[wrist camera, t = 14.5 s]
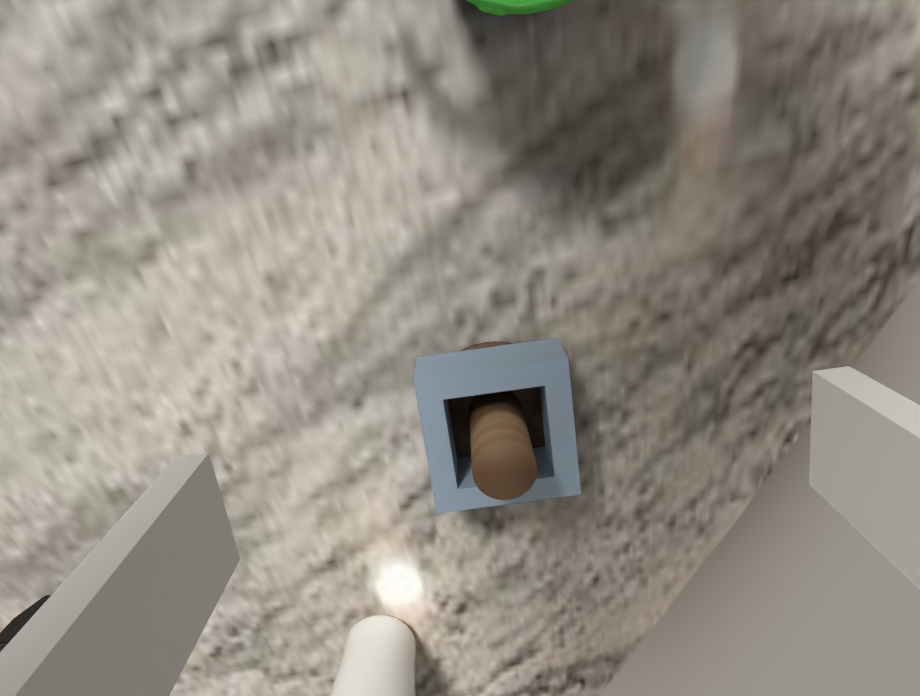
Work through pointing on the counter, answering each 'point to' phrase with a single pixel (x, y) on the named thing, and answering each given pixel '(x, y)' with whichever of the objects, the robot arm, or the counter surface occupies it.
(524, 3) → the snack cup
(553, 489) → the collar
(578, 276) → the counter surface
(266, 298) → the counter surface
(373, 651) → the drinking glass
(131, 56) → the counter surface
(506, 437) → the post
